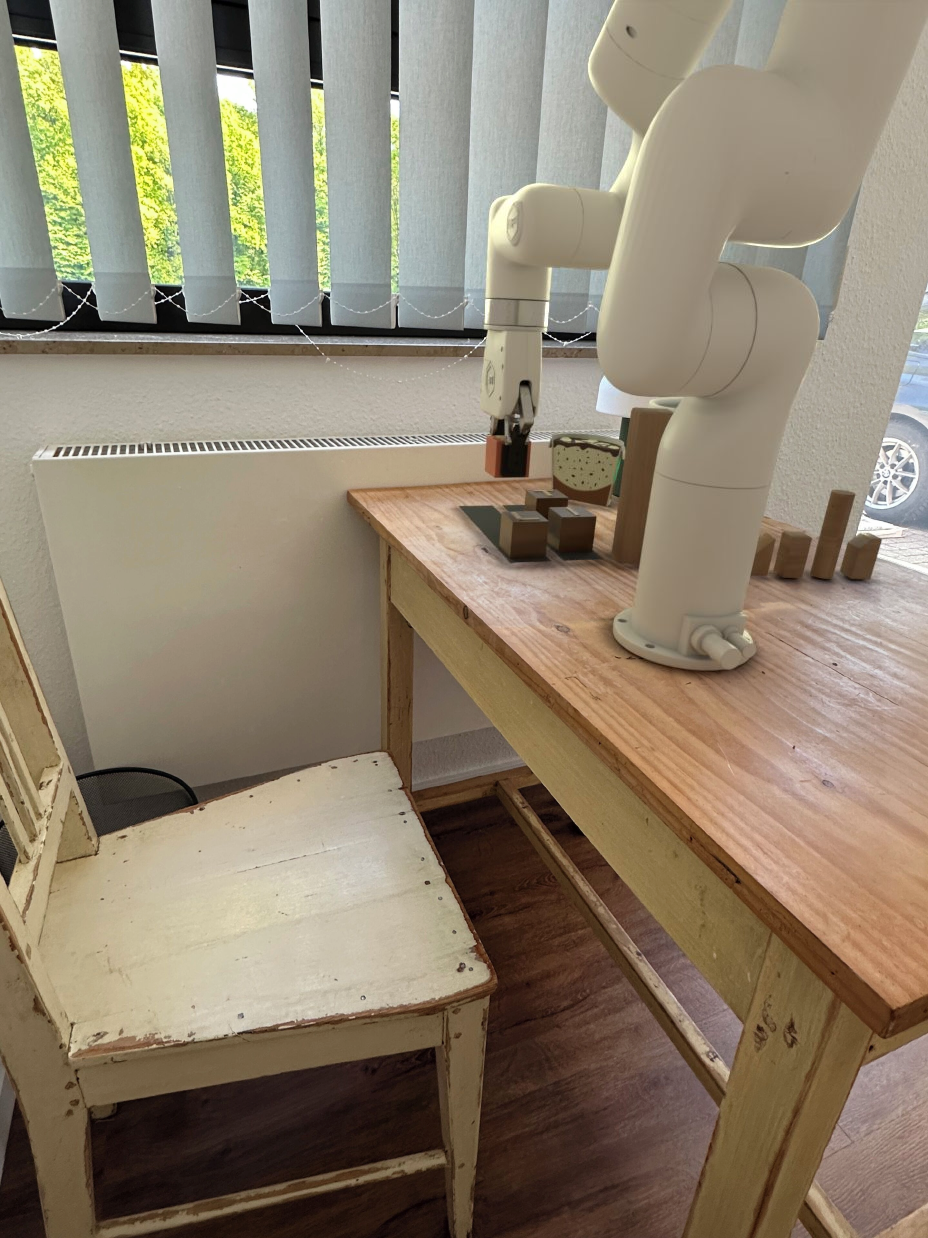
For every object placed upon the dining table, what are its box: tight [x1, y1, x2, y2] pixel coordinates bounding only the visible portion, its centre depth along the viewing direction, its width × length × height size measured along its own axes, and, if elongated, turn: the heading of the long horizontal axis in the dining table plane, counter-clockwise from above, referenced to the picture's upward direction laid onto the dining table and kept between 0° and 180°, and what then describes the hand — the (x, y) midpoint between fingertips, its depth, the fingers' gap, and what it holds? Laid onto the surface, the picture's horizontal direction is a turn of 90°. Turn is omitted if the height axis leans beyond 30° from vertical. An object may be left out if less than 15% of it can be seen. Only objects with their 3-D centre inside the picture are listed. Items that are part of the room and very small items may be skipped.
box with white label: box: [499, 511, 549, 559], centre depth 86 cm, size 4×4×5 cm
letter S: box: [484, 435, 532, 479], centre depth 91 cm, size 4×4×5 cm
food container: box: [547, 432, 626, 508], centre depth 112 cm, size 12×6×10 cm, turn 58°
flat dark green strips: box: [458, 504, 604, 564], centre depth 96 cm, size 25×12×1 cm, turn 14°
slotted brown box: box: [547, 506, 598, 553], centre depth 89 cm, size 4×4×5 cm
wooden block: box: [611, 406, 674, 565], centre depth 84 cm, size 9×4×18 cm, turn 90°
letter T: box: [524, 488, 569, 520], centre depth 97 cm, size 4×4×5 cm
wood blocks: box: [750, 489, 883, 580], centre depth 83 cm, size 25×3×10 cm, turn 95°
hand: (506, 471), depth 91 cm, fingers closed on letter S, 4 cm apart
